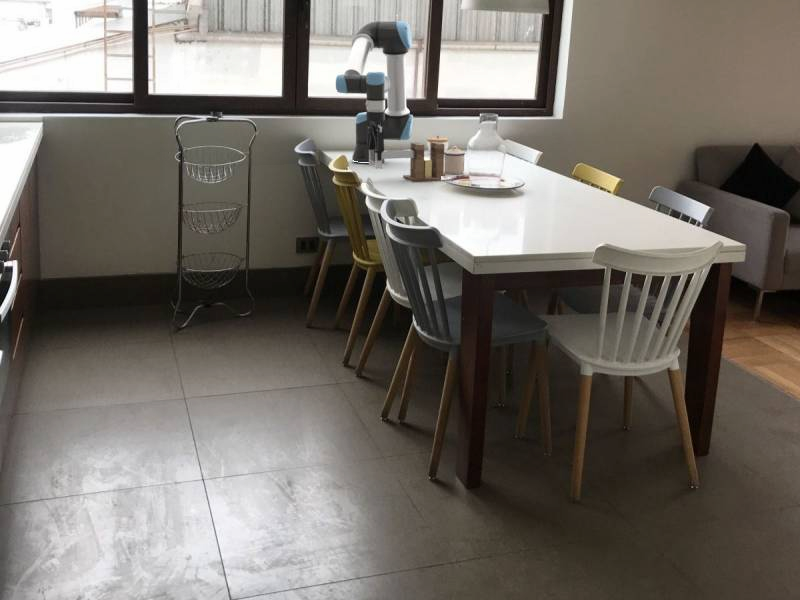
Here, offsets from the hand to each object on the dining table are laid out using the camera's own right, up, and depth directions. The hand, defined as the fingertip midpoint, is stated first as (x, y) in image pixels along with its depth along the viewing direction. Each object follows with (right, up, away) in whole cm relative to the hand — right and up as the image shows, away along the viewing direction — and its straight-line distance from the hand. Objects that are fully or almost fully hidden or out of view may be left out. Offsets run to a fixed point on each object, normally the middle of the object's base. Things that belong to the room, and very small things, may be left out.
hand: (375, 166), depth 394 cm
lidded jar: (+29, +17, +80) cm, 87 cm away
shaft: (+8, +3, +2) cm, 9 cm away
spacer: (+21, -3, +9) cm, 23 cm away
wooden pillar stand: (+22, -4, +9) cm, 24 cm away
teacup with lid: (+33, +1, +27) cm, 43 cm away
